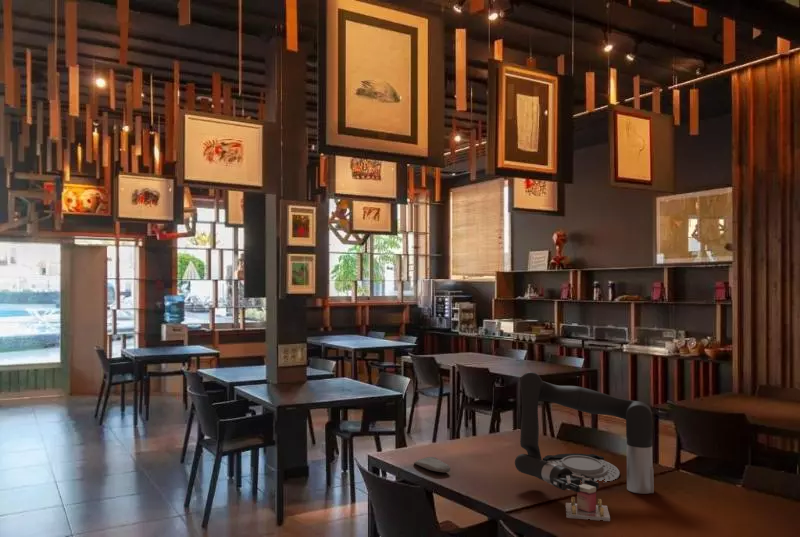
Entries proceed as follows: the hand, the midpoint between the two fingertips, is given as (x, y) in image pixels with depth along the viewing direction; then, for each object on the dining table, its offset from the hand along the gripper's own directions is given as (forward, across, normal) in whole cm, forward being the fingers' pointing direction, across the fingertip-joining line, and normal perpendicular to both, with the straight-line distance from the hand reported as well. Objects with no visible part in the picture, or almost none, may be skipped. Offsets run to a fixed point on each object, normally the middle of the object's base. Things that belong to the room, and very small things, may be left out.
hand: (588, 487), depth 222 cm
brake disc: (-41, +34, +10) cm, 54 cm away
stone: (-71, -16, +7) cm, 73 cm away
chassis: (-1, 0, +9) cm, 9 cm away
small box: (-1, 0, +8) cm, 8 cm away
